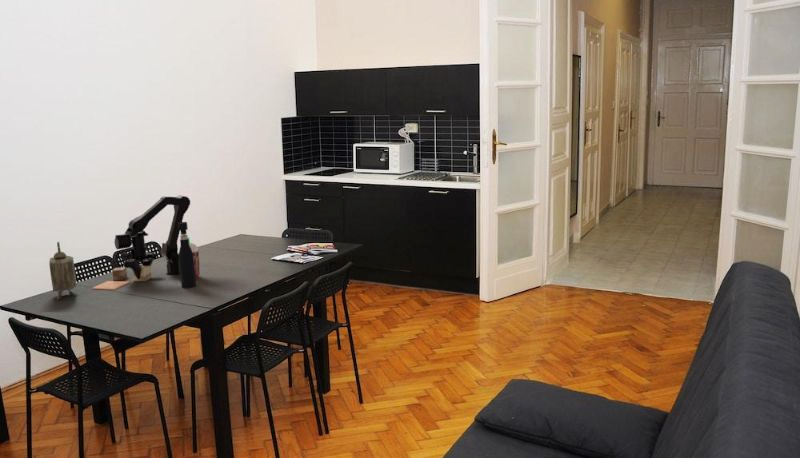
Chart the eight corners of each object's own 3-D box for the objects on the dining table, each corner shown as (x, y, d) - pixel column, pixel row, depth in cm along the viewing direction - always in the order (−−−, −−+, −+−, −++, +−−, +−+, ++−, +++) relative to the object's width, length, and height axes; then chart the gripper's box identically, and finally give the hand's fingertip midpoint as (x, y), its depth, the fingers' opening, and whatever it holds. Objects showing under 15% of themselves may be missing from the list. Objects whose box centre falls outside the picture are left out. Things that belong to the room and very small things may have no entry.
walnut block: (127, 277, 344) (126, 267, 343) (123, 279, 339) (122, 269, 338) (117, 277, 344) (115, 267, 343) (113, 280, 339) (112, 270, 338)
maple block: (151, 277, 339) (150, 265, 338) (144, 281, 334) (143, 269, 333) (140, 277, 341) (139, 265, 340) (133, 280, 335) (132, 268, 334)
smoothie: (205, 276, 339) (201, 236, 335) (193, 280, 331) (189, 239, 327) (191, 275, 342) (187, 235, 338) (180, 279, 335) (175, 238, 331)
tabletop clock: (56, 293, 319) (48, 240, 314) (77, 290, 322) (70, 237, 318) (54, 301, 306) (46, 246, 301) (77, 298, 309) (69, 243, 304)
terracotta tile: (129, 282, 332) (129, 281, 332) (114, 289, 321) (114, 288, 321) (107, 282, 335) (107, 281, 335) (91, 289, 324) (91, 288, 323)
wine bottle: (183, 288, 318) (176, 224, 312) (180, 285, 323) (174, 222, 317) (197, 286, 321) (191, 222, 315) (194, 283, 326) (188, 220, 320)
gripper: (135, 241, 345) (138, 271, 348) (112, 250, 327) (116, 282, 330) (155, 241, 342) (158, 272, 345) (133, 250, 324) (136, 282, 327)
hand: (142, 277), depth 337 cm, fingers closed on maple block, 6 cm apart
